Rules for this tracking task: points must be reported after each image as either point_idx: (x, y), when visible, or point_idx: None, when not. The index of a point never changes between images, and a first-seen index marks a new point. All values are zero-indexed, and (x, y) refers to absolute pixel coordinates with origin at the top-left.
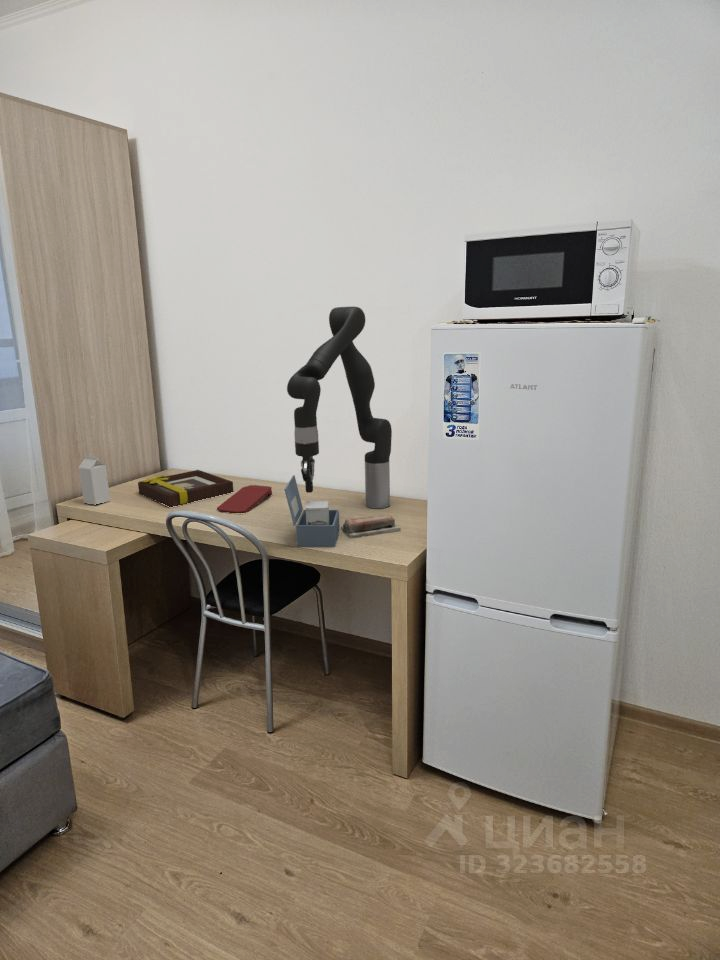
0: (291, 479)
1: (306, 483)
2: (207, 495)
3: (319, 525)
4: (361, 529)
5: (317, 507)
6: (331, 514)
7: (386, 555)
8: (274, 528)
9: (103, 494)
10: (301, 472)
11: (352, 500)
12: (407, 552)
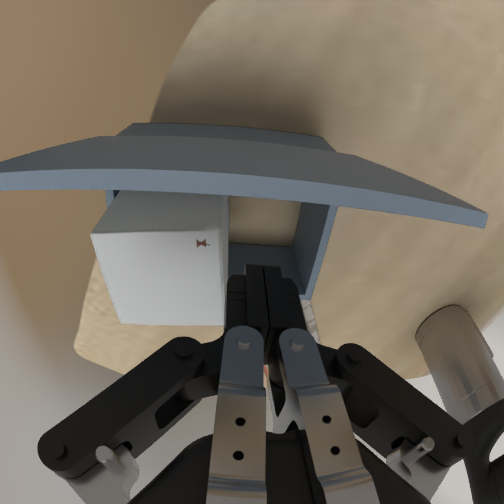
0: (341, 200)
1: (225, 325)
2: None
3: None
4: None
5: (109, 286)
6: (306, 265)
7: (106, 338)
8: (354, 24)
9: None
10: (51, 428)
11: (494, 276)
12: (129, 365)
